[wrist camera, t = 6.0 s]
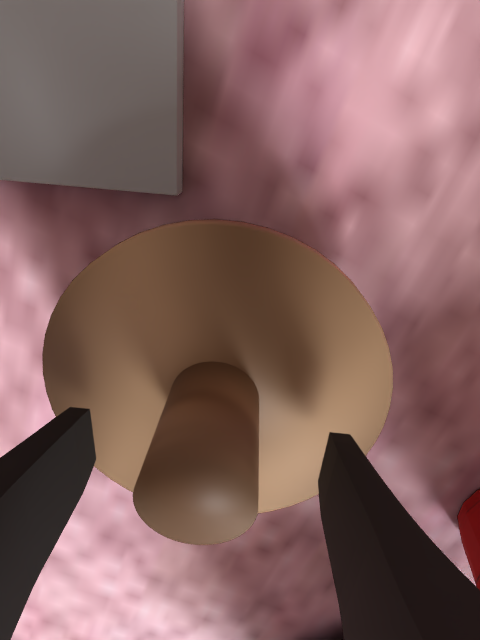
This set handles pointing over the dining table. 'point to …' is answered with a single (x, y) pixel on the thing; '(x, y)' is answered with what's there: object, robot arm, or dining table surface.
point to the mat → (92, 93)
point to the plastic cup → (471, 533)
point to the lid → (216, 371)
